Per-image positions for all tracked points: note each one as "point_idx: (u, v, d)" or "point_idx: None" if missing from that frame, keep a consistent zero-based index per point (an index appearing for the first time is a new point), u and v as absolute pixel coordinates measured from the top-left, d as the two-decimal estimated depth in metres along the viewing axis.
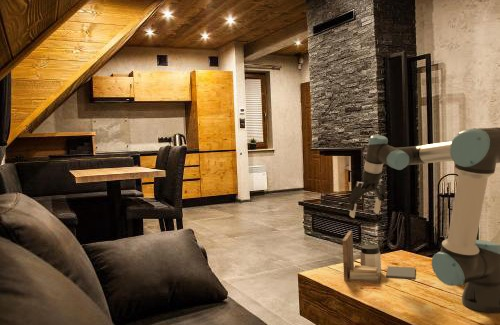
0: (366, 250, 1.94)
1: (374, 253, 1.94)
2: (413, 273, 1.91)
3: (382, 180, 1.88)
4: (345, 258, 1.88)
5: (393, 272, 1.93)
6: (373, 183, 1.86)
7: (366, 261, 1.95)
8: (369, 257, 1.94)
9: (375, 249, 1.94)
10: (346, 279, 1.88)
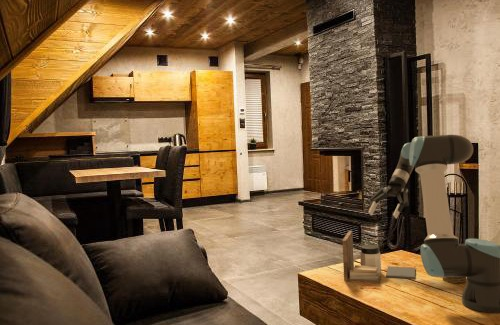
0: (366, 250, 1.94)
1: (374, 253, 1.94)
2: (413, 273, 1.91)
3: (405, 187, 2.05)
4: (345, 258, 1.88)
5: (393, 272, 1.93)
6: None
7: (366, 261, 1.95)
8: (369, 257, 1.94)
9: (375, 249, 1.94)
10: (346, 279, 1.88)
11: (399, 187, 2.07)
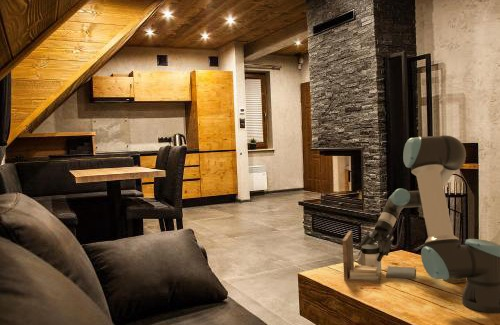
0: (366, 250, 1.94)
1: (374, 253, 1.94)
2: (413, 273, 1.91)
3: (391, 235, 1.98)
4: (345, 258, 1.88)
5: (393, 272, 1.93)
6: (381, 231, 2.02)
7: (366, 261, 1.94)
8: (369, 257, 1.94)
9: (375, 249, 1.94)
10: (346, 279, 1.88)
11: (386, 232, 2.00)
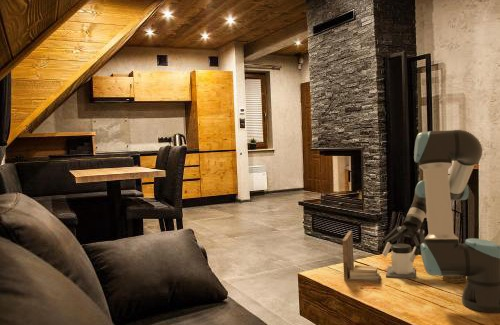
0: (398, 249, 1.90)
1: (406, 252, 1.89)
2: (413, 273, 1.91)
3: None
4: (345, 258, 1.88)
5: (393, 272, 1.93)
6: None
7: (397, 260, 1.90)
8: (401, 256, 1.90)
9: (407, 248, 1.89)
10: (346, 279, 1.88)
11: (415, 227, 1.96)
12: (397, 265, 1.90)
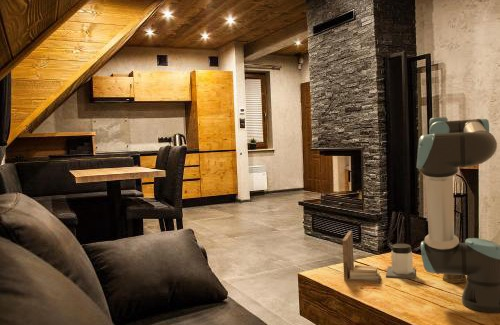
0: (398, 249, 1.90)
1: (406, 252, 1.89)
2: (413, 273, 1.91)
3: None
4: (345, 258, 1.88)
5: (393, 272, 1.93)
6: None
7: (397, 260, 1.90)
8: (401, 256, 1.90)
9: (407, 248, 1.89)
10: (346, 279, 1.88)
11: None
12: (397, 265, 1.90)
